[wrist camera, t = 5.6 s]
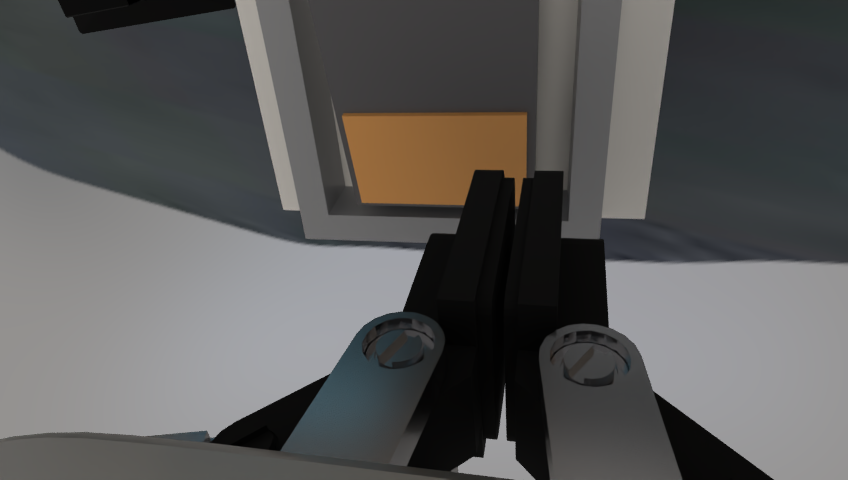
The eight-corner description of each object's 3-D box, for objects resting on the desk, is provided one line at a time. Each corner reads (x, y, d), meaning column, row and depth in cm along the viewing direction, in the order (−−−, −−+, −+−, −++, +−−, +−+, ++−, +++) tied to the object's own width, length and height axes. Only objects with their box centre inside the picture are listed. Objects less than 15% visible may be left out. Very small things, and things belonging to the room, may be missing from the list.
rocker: (541, -89, 18) (540, -68, 16) (535, 184, 24) (533, 212, 23) (309, -74, 19) (292, -54, 18) (365, 181, 26) (355, 208, 25)
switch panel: (662, -184, 25) (720, -193, 16) (625, 139, 32) (652, 252, 24) (285, -151, 28) (164, -142, 19) (334, 139, 35) (262, 239, 27)
